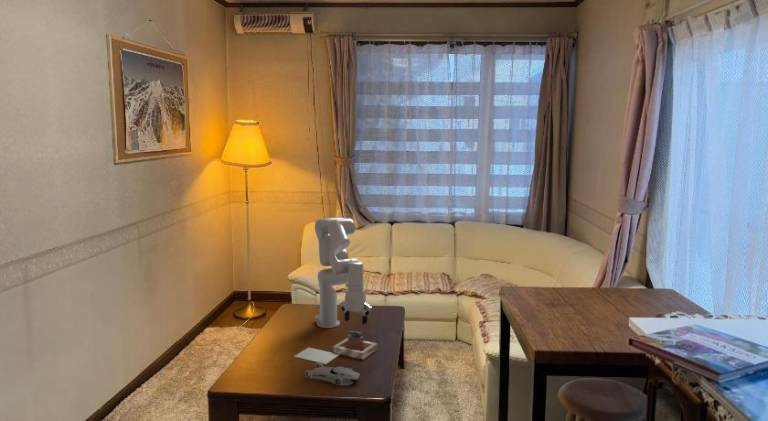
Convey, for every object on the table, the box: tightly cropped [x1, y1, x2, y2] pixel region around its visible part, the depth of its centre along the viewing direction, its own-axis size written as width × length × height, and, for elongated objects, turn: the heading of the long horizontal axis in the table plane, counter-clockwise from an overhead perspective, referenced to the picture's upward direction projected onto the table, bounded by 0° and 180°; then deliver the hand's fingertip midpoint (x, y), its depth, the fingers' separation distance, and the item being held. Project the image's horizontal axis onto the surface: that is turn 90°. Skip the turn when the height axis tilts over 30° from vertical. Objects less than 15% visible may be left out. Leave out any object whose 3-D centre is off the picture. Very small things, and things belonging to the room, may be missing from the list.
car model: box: [304, 362, 360, 387], centre depth 231 cm, size 11×24×5 cm, turn 66°
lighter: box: [347, 330, 364, 351], centre depth 260 cm, size 8×3×10 cm, turn 71°
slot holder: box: [332, 337, 379, 360], centre depth 260 cm, size 17×14×3 cm
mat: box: [293, 347, 341, 365], centre depth 254 cm, size 18×12×1 cm, turn 63°
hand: (355, 322), depth 258 cm, fingers open, 9 cm apart
